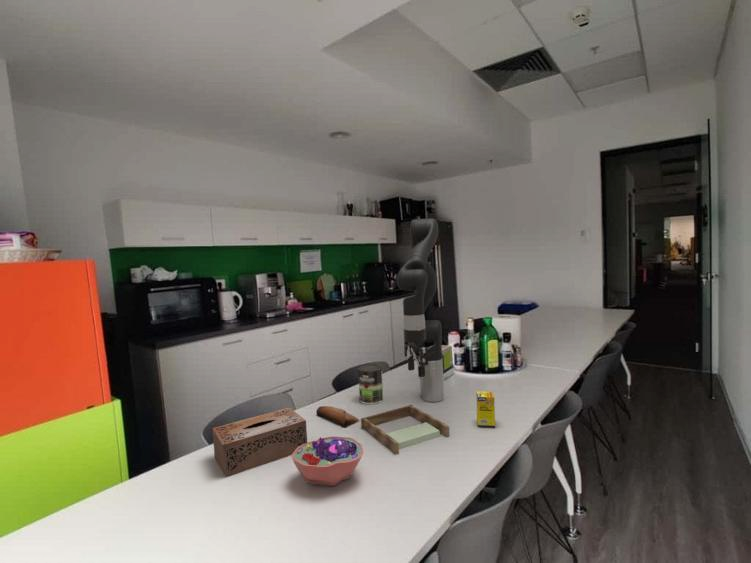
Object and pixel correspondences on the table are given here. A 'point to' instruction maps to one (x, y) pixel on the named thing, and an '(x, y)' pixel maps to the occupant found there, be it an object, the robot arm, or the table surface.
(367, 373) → the coffee can
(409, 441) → the cover plate
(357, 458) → the cell model
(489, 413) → the supplement box
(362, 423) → the open wooden frame
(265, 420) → the tissue box cover
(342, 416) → the sunglasses case
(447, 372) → the tea box
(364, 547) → the table surface
